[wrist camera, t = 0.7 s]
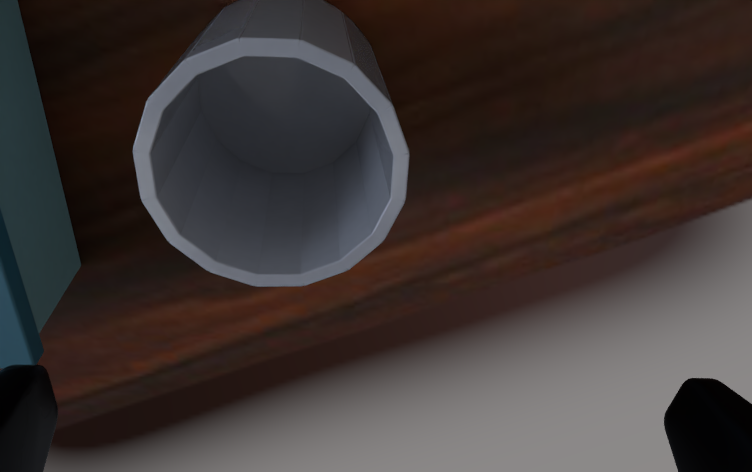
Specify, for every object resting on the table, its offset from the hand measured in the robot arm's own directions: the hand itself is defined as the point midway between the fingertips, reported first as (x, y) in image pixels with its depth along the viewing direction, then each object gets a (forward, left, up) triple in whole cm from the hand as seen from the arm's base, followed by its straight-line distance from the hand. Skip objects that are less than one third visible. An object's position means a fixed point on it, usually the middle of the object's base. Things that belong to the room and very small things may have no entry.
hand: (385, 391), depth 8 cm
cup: (0, +2, -14) cm, 14 cm away
